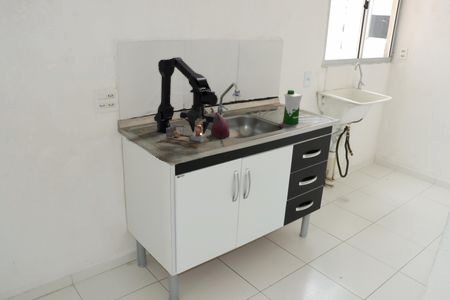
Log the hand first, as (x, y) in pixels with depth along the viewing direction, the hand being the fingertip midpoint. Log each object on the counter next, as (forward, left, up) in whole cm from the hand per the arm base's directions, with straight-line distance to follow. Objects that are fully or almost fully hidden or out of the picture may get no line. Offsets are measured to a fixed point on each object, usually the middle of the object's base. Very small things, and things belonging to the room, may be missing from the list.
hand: (198, 133), depth 184 cm
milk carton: (+31, +66, -6) cm, 73 cm away
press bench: (-7, 0, -6) cm, 9 cm away
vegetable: (+4, +18, -6) cm, 19 cm away
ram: (0, 0, -4) cm, 4 cm away
